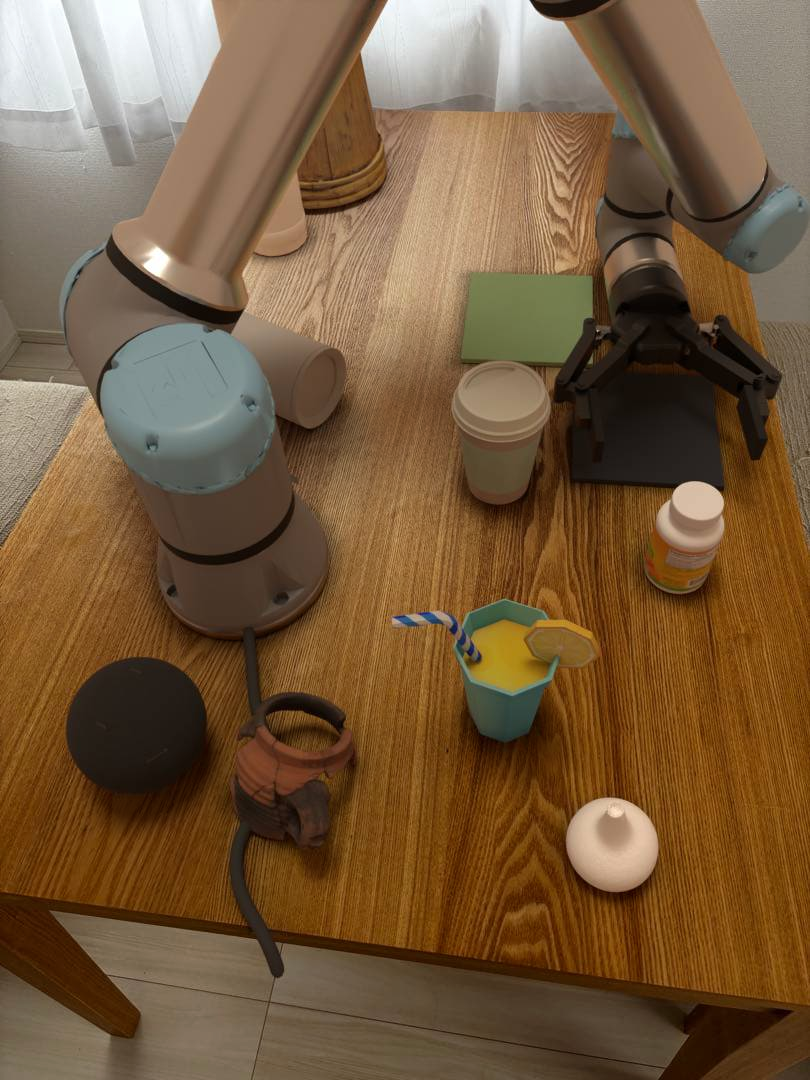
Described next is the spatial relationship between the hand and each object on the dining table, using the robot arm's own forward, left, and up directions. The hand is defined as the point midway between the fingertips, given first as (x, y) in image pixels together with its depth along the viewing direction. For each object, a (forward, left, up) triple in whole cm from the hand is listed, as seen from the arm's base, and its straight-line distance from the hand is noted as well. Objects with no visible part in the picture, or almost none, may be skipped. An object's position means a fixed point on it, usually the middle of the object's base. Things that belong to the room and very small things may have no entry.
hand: (678, 451), depth 75 cm
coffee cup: (+1, +15, -7) cm, 17 cm away
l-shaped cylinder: (+10, +42, -7) cm, 44 cm away
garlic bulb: (-33, +5, -7) cm, 34 cm away
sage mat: (+25, +13, -7) cm, 30 cm away
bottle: (+39, +45, -7) cm, 61 cm away
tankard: (+56, +42, -7) cm, 71 cm away
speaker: (-29, +40, -7) cm, 50 cm away
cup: (-23, +14, -7) cm, 28 cm away
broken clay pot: (-31, +28, -7) cm, 42 cm away
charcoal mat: (+9, +1, -7) cm, 12 cm away
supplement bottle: (-8, -1, -7) cm, 11 cm away
